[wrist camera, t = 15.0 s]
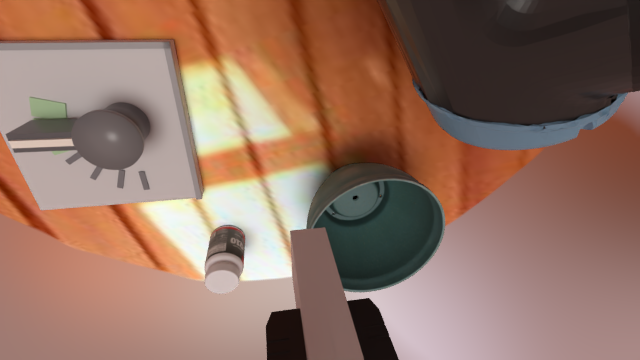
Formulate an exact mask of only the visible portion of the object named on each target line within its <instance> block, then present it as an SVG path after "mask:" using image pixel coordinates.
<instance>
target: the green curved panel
mask: <svg viewBox="0 0 640 360" xmlns="http://www.w3.org/2000/svg"><path fill="white" fill-rule="evenodd" d="M29 102H30V109H31V116H36V117H41V118H33V120H52V119H67V107H66V103H62V102H56V101H51V100H46V99H40V98H35V97H29ZM68 151H71V150H68ZM64 152H67V151H52V153H53V154H54V155H57V154H61V153H64ZM81 157H82V156H81V155H80V154H79V153H78V152H77V153H76V154H74V155H73V156H71V157H70V158H68V159H67V160H65V161H66V162H67V163H68V164H69V165H70V164H72V163H73V162H75V161H76V160H78V159H79V158H81ZM102 169H103V168H100V167H96V168H95V170H94V171H93V173H92V175H91V176H90V178H91V179H93V180H96V179H97V177H98V176H99V174H100V172H101V171H102ZM138 173H139V176H140V179H141V182H142V185H143V189H144V190H149V189H150V188H149V184H148V181H147V178H146V174H145V171H139V172H138ZM124 177H125V170H119V172H118V182H117V188H122V189H123V186H124Z"/></svg>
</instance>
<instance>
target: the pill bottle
mask: <svg viewBox="0 0 640 360" xmlns="http://www.w3.org/2000/svg"><path fill="white" fill-rule="evenodd" d="M244 247H245V236H244V234H243V232H242V231H241V230H240V229H239V228H237V227H234V226H222V227H219V228H217V229H216V230H214V232H213V233H212V235H211V237H210V242H209V248H208V252H207V257H206V262H205V273H206V274H205V286H206V287H207V289H208V290H210V291H212V292H214V293H218V294H224V293H228V292H231V291H233V290H234V289H236V288H237V286H238V284H239V278H240V275H241V273H242V271H243V266H244Z"/></svg>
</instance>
